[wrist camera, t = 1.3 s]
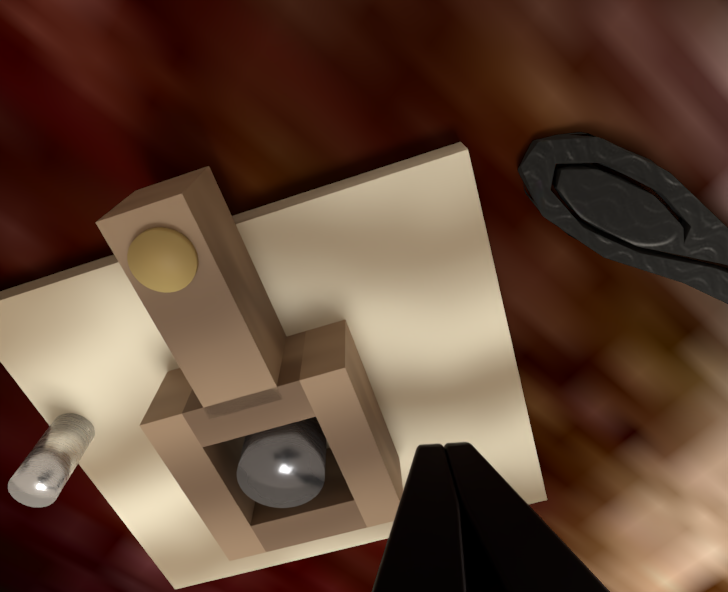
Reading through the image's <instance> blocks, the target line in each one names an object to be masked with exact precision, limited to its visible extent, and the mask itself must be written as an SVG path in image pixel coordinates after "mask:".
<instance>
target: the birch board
mask: <svg viewBox="0 0 728 592" xmlns="http://www.w3.org/2000/svg"><path fill="white" fill-rule="evenodd" d="M232 218H233V220H234V222H235V224H236V226H237V229H238V231H239V233H240V235H241V237H242V240H243V242H244V244H245V246H246V248H247V251H248V253H249V255H250V257H251V259H252V262H253V264H254V266H255V268H256V270H257V273H258V275H259V277H260V279H261V281H262V284H263V286H264V288H265V290H266V292H267V295H268V297H269V299H270V301H271V303H272V306H273V308H274V310H275V312H276V314H277V317H278V319H279V321H280V323H281V325H282V328H283V330H284V332H285V334H286V336H290V335H294V334H297V333H301V332H304V331H307V330H311V329H314V328H318V327H321V326H325V325H328V324H331V323H335V322H338V321H342V320H345V319H346V322H347V325H348V327H349V330H350V332H351V335H352V337H353V340H354V343H355V345H356V348H357V350H358V353H359V356H360V358H361V361H362V363H363V366H364V368H365V371H366V374H367V376H368V379H369V381H370V384H371V386H372V389H373V392H374V394H375V397H376V399H377V402H378V405H379V407H380V410H381V412H382V415H383V417H384V420H385V423H386V425H387V428H388V430H389V433H390V435H391V438H392V441H393V443H394V446H395V448H396V451H397V454H398V456H399V459H400V468H401V476H402V485H403V490H404V487H405V483H406V480H407V477H408V474H409V470H410V467H411V464H412V461H413V458H414V454H415V451H416V448H417V447H418V446H419V445H421V444H436V443H439V444H442V445H443V447H444V445H445V444H446V443H454V442H468V443H470V444H472V445H473V446H474V447H475V448H476V450H477V451H478V452H479V453H480V454H481V455H482V456H483V457H484V458H485V459H486V460H487V461H488V462H489V463H490V464H491V466H492V467H493V468H494V469H495V470H496V471H497V472H498V473H499V474H500V475H501V476H502V477H503V478H504V479H505V480H506V481H507V483H508V484H509V485H510V486H511V487H512V488H513V489H514V490H515V491H516V492H517V493H518V494H519V495H520V496H521V497H522V499H523V500H524V501H525V502H526V503H527V504H532V503H536V502H541V501H545V500H547V497H546V492H545V488H544V483H543V479H542V475H541V470H540V466H539V461H538V457H537V452H536V448H535V444H534V439H533V435H532V430H531V426H530V421H529V417H528V413H527V408H526V404H525V399H524V395H523V390H522V386H521V382H520V377H519V373H518V368H517V364H516V360H515V355H514V351H513V346H512V342H511V337H510V333H509V329H508V324H507V320H506V315H505V311H504V306H503V302H502V298H501V293H500V289H499V284H498V280H497V275H496V271H495V267H494V262H493V258H492V253H491V249H490V244H489V240H488V236H487V231H486V227H485V222H484V218H483V214H482V209H481V205H480V200H479V196H478V191H477V187H476V183H475V178H474V174H473V169H472V165H471V160H470V156H469V152H468V149H467V148H466V147H465V146H464V145H463V144H462V143H461V142H458V143H455V144H452V145H449V146H446V147H443V148H440V149H437V150H433V151H430V152H427V153H424V154H421V155H418V156H415V157H412V158H409V159H406V160H403V161H400V162H397V163H393V164H390V165H387V166H384V167H381V168H378V169H375V170H372V171H369V172H366V173H363V174H360V175H357V176H354V177H350V178H347V179H344V180H341V181H338V182H335V183H332V184H329V185H326V186H323V187H320V188H317V189H314V190H310V191H307V192H304V193H301V194H298V195H295V196H292V197H289V198H286V199H283V200H280V201H277V202H274V203H270V204H267V205H264V206H261V207H258V208H255V209H252V210H249V211H246V212H243V213H240V214H237V215H234V216H232ZM0 362H1V363H2V364H3V365H4V367H5V368H6V369H7V371H8V372H9V373H10V375H11V376H12V377H13V379H14V380H15V381H16V382H17V384H18V385H19V386H20V388H21V389H22V390H23V392H24V393H25V394H26V395H27V397H28V398H29V399H30V401H31V402H32V403H33V405H34V406H35V407H36V408H37V410H38V411H39V412H40V414H41V415H42V416H43V418H44V419H45V420H46V422H47V423H48V424H49V425H51V424H52V422H53V421H54V420H55V418H56V417H58V416H59V415H62V414H65V413H74V414H78V415H81V416H83V417H85V418H86V419H88V420H89V421H90V422H91V423H92V425H93V426H94V429H95V436H94V438H93V440H92V441H91V443H90V445H89V446H88V448H87V449H86V451H85V453H84V454H83V456H82V458H81V459H80V461H79V462H78V463H79V465H80V466H81V467H82V468H83V470H84V471H85V472H86V474H87V475H88V476H89V478H90V479H91V480H92V482H93V483H94V484H95V485H96V487H97V488H98V489H99V491H100V492H101V493H102V495H103V496H104V497H105V498H106V500H107V501H108V502H109V504H110V505H111V506H112V508H113V509H114V510H115V512H116V513H117V514H118V515H119V517H120V518H121V519H122V521H123V522H124V523H125V525H126V526H127V527H128V528H129V530H130V531H131V532H132V534H133V535H134V536H135V538H136V539H137V540H138V541H139V543H140V544H141V545H142V547H143V548H144V549H145V551H146V552H147V553H148V555H149V556H150V557H151V558H152V560H153V561H154V562H155V564H156V565H157V566H158V568H159V569H160V570H161V571H162V573H163V574H164V575H165V577H166V578H167V579H168V581H169V582H170V583H171V585H172V586H173V587H174V588H175V589H179V588H183V587H187V586H191V585H195V584H200V583H204V582H208V581H212V580H216V579H220V578H225V577H229V576H233V575H237V574H241V573H245V572H249V571H254V570H258V569H262V568H266V567H270V566H274V565H279V564H283V563H287V562H291V561H295V560H299V559H304V558H308V557H312V556H316V555H320V554H324V553H328V552H333V551H337V550H341V549H345V548H349V547H353V546H358V545H362V544H366V543H370V542H374V541H378V540H383V539H387V538H389V535H390V531H391V528H392V525H393V522H394V521H392V522H388V523H384V524H380V525H376V526H372V527H368V528H364V529H359V530H355V531H351V532H347V533H343V534H339V535H335V536H331V537H327V538H323V539H318V540H314V541H310V542H306V543H302V544H298V545H294V546H290V547H286V548H282V549H277V550H273V551H269V552H265V553H261V554H257V555H253V556H249V557H245V558H241V559H236V560H232V561H229V560H228V558H227V557H226V555H225V554H224V552H223V551H222V549H221V548H220V546H219V545H218V543H217V542H216V540H215V539H214V537H213V536H212V534H211V533H210V531H209V530H208V528H207V526H206V525H205V523H204V522H203V520H202V519H201V517H200V516H199V514H198V513H197V511H196V510H195V508H194V507H193V505H192V504H191V502H190V501H189V499H188V498H187V496H186V495H185V493H184V492H183V490H182V489H181V487H180V486H179V484H178V483H177V481H176V480H175V478H174V477H173V475H172V474H171V472H170V471H169V469H168V468H167V466H166V465H165V463H164V462H163V460H162V459H161V457H160V456H159V454H158V453H157V451H156V450H155V448H154V447H153V445H152V444H151V442H150V441H149V439H148V438H147V436H146V435H145V433H144V432H143V430H142V429H141V427H140V426H139V425H140V423H141V421H142V420H143V418H144V416H145V414H146V412H147V410H148V408H149V406H150V404H151V402H152V400H153V398H154V396H155V394H156V393H157V391H158V389H159V387H160V385H161V383H162V381H163V379H164V377H165V375H166V373H167V372H168V371H171V370H174V369H178V368H180V367H179V365H178V363H177V362H176V360H175V358H174V356H173V355H172V353H171V351H170V350H169V348H168V346H167V344H166V343H165V341H164V339H163V338H162V336H161V334H160V332H159V331H158V329H157V327H156V325H155V324H154V322H153V320H152V319H151V317H150V315H149V313H148V312H147V310H146V308H145V307H144V305H143V303H142V301H141V300H140V298H139V296H138V295H137V293H136V291H135V289H134V288H133V286H132V284H131V283H130V281H129V279H128V277H127V276H126V274H125V272H124V271H123V269H122V267H121V265H120V264H119V262H118V260H117V259H116V257H115V255H111V256H108V257H104V258H101V259H98V260H95V261H92V262H89V263H86V264H83V265H80V266H77V267H74V268H71V269H68V270H64V271H61V272H58V273H55V274H52V275H49V276H46V277H43V278H40V279H37V280H34V281H31V282H28V283H24V284H21V285H18V286H15V287H12V288H9V289H6V290H3V291H0ZM327 448H330V446H329V444H328V442H327V444H326V449H327Z"/></svg>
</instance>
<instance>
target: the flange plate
mask: <svg viewBox="0 0 728 592" xmlns="http://www.w3.org/2000/svg"><path fill="white" fill-rule="evenodd" d="M96 224H97V226H98V228H99V229H100V231H101V233H102V234H103V236H104V238H105V240H106V241H107V243H108V245H109V246H110V248H111V250H112V252H113V253H114V255H115V257H116V259H117V260H118V262H119V264H120V265H121V267H122V269H123V271H124V272H125V274H126V276H127V277H128V279H129V281H130V283H131V284H132V286H133V288H134V289H135V291H136V293H137V295H138V296H139V298H140V300H141V301H142V303H143V305H144V307H145V308H146V310H147V312H148V313H149V315H150V317H151V319H152V320H153V322H154V324H155V325H156V327H157V329H158V331H159V332H160V334H161V336H162V338H163V339H164V341H165V343H166V344H167V346H168V348H169V350H170V351H171V353H172V355H173V356H174V358H175V360H176V362H177V363H178V365H179V367H180V368H178V369H174V370H171V371H168V372H167V373H166V375H165V377H164V379H163V381H162V383H161V385H160V387H159V389H158V391H157V393H156V394H155V396H154V398H153V400H152V402H151V404H150V406H149V408H148V410H147V412H146V414H145V416H144V418H143V420H142V421H141V423H140V425H139V426H140V427H141V429H142V430H143V432H144V433H145V435H146V436H147V438H148V439H149V441H150V442H151V444H152V445H153V447H154V448H155V450H156V451H157V453H158V454H159V456H160V457H161V459H162V460H163V462H164V463H165V465H166V466H167V468H168V469H169V471H170V472H171V474H172V475H173V477H174V478H175V480H176V481H177V483H178V484H179V486H180V487H181V489H182V490H183V492H184V493H185V495H186V496H187V498H188V499H189V501H190V502H191V504H192V505H193V507H194V508H195V510H196V511H197V513H198V514H199V516H200V517H201V519H202V520H203V522H204V523H205V525H206V526H207V528H208V530H209V531H210V533H211V534H212V536H213V537H214V539H215V540H216V542H217V543H218V545H219V546H220V548H221V549H222V551H223V552H224V554H225V555H226V557H227V558H228V560H229V561H232V560H236V559H241V558H245V557H249V556H253V555H257V554H261V553H265V552H269V551H273V550H277V549H282V548H286V547H290V546H294V545H298V544H302V543H306V542H310V541H314V540H318V539H323V538H327V537H331V536H335V535H339V534H343V533H347V532H351V531H355V530H359V529H364V528H368V527H372V526H376V525H380V524H384V523H388V522H392V521H394V519H395V515H396V512H397V509H398V506H399V503H400V499H401V496H402V493H403V485H402V476H401V468H400V459H399V456H398V454H397V451H396V448H395V446H394V443H393V441H392V438H391V435H390V433H389V430H388V428H387V425H386V423H385V420H384V417H383V415H382V412H381V410H380V407H379V405H378V402H377V399H376V397H375V394H374V392H373V389H372V386H371V384H370V381H369V379H368V376H367V374H366V371H365V368H364V366H363V363H362V361H361V358H360V356H359V353H358V350H357V348H356V345H355V343H354V340H353V337H352V335H351V332H350V330H349V327H348V325H347V322H346V319H345V320H342V321H338V322H335V323H331V324H328V325H325V326H321V327H318V328H314V329H311V330H307V331H304V332H301V333H297V334H294V335H290V336H286V334H285V332H284V330H283V328H282V325H281V323H280V321H279V319H278V317H277V314H276V312H275V310H274V308H273V306H272V303H271V301H270V299H269V297H268V295H267V292H266V290H265V288H264V286H263V284H262V281H261V279H260V277H259V275H258V273H257V270H256V268H255V266H254V264H253V262H252V259H251V257H250V255H249V253H248V251H247V248H246V246H245V244H244V242H243V240H242V237H241V235H240V233H239V231H238V229H237V226H236V224H235V222H234V220H233V218H232V215H231V213H230V211H229V209H228V207H227V204H226V202H225V200H224V198H223V196H222V193H221V191H220V189H219V187H218V185H217V182H216V180H215V178H214V176H213V174H212V171H211V169H210V167H209V166H207V167H204V168H201V169H198V170H195V171H192V172H189V173H186V174H183V175H180V176H177V177H174V178H171V179H169V180H166V181H163V182H160V183H157V184H154V185H151V186H148V187H145V188H142V189H139V190H136V191H135V192H133V193H132V194H131V195H130V196H128V197H127V198H126V199H124V200H123V201H122V202H121V203H119V204H118V205H117V206H116V207H114V208H113V209H112V210H110V211H109V212H108V213H107V214H105V215H104V216H103V217H102V218H100V219H99V220H98V221H97V222H96ZM312 417H316V418H317V420H318V422H319V424H320V426H321V429H322V431H323V433H324V435H325V437H326V439H327V442H328V444H329V446H330V448H327V449H326V464H325V480H324V485H323V487H322V489H321V491H320V492H319V493H318V495H317V496H316V497H314V498H313V499H312V500H310V501H309V502H307V503H305V504H302V505H299V506H296V507H290V508H275V507H269V506H266V505H263V504H260V503H258V502H256V501H254V500H252V499H251V498H249V497H248V496H247V495H246V494H245V493H244V492H243V491H242V489H241V488H240V486H239V484H238V481H237V468H238V464H239V460H240V456H241V452H242V448H243V444H244V440H245V436H246V435H250V434H254V433H257V432H261V431H265V430H268V429H272V428H276V427H279V426H283V425H287V424H290V423H294V422H298V421H301V420H305V419H309V418H312Z"/></svg>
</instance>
